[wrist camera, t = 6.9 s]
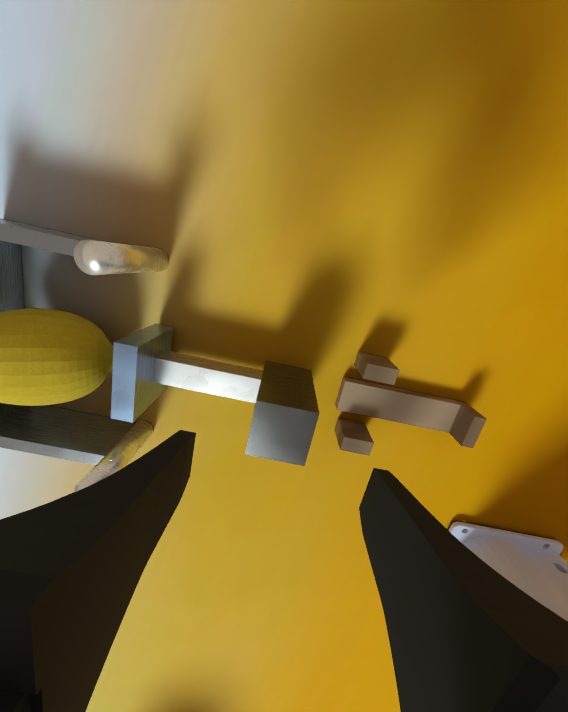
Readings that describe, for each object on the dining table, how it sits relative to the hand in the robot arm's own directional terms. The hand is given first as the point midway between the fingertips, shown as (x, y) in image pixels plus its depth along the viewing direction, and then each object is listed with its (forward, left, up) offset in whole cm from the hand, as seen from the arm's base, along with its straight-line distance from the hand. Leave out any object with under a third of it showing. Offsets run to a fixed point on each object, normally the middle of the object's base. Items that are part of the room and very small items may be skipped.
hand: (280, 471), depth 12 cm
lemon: (+10, 0, -8) cm, 13 cm away
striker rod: (+4, 0, -9) cm, 10 cm away
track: (-8, 0, -10) cm, 13 cm away
